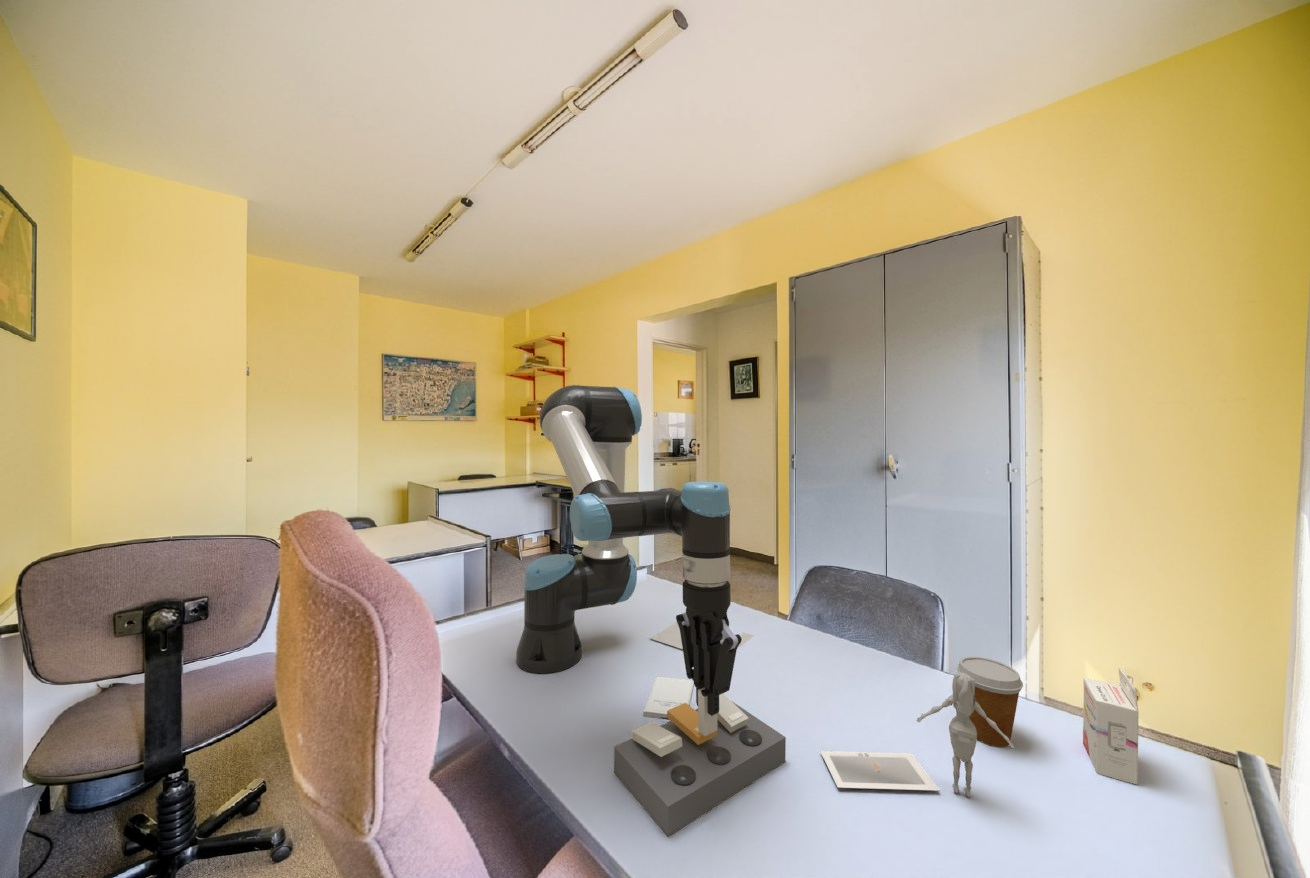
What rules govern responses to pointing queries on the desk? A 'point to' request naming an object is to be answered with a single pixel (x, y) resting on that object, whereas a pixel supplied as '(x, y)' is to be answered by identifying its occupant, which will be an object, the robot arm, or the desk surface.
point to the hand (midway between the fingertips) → (707, 730)
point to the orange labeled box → (688, 722)
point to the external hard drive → (667, 696)
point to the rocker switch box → (698, 770)
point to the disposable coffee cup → (993, 697)
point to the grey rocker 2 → (730, 714)
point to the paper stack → (674, 636)
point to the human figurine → (963, 726)
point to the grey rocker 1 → (656, 739)
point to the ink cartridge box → (1111, 728)
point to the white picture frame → (877, 770)
